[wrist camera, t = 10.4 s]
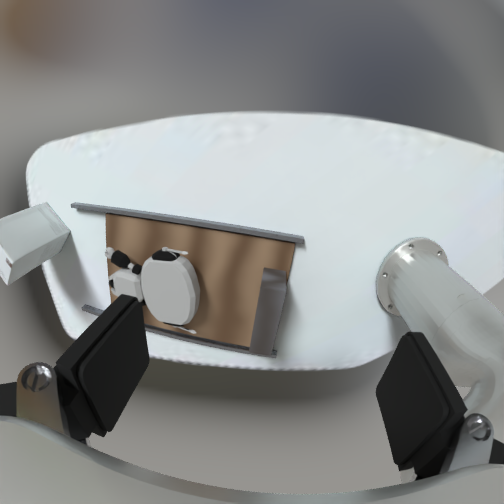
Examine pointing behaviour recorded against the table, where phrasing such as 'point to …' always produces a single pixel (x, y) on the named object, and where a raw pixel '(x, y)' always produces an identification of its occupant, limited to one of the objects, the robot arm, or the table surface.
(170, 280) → the robot toy
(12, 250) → the skincare box
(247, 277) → the brown rectangular mat
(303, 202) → the table surface
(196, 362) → the table surface
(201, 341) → the guide rails
